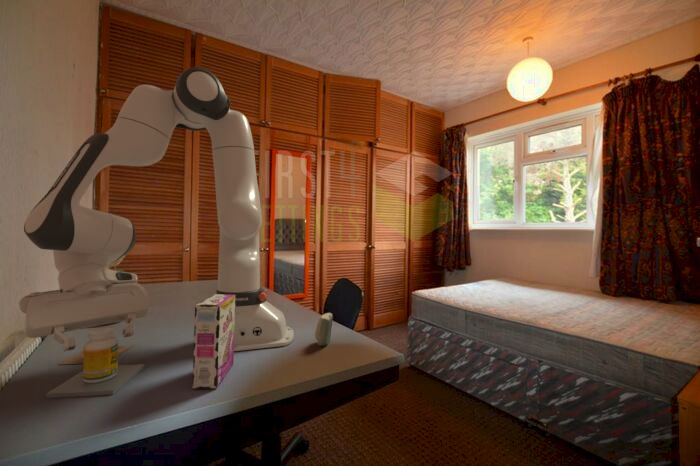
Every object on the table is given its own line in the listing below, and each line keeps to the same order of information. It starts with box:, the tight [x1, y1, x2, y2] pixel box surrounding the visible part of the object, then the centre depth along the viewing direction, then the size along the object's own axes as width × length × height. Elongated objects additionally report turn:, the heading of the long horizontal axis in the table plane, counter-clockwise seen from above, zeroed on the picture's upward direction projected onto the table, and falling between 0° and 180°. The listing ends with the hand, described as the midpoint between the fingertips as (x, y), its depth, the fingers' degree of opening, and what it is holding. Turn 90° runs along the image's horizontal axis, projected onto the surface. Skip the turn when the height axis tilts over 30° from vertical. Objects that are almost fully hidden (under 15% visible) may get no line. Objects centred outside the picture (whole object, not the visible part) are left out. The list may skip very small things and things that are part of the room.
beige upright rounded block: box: [314, 312, 334, 348], centre depth 83 cm, size 6×5×8 cm
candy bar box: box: [192, 293, 236, 390], centre depth 64 cm, size 11×5×16 cm, turn 5°
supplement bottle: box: [82, 326, 119, 383], centre depth 61 cm, size 5×5×10 cm
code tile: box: [58, 345, 133, 366], centre depth 74 cm, size 10×10×1 cm
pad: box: [45, 363, 146, 399], centre depth 61 cm, size 11×11×1 cm
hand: (101, 341), depth 61 cm, fingers open, 8 cm apart
